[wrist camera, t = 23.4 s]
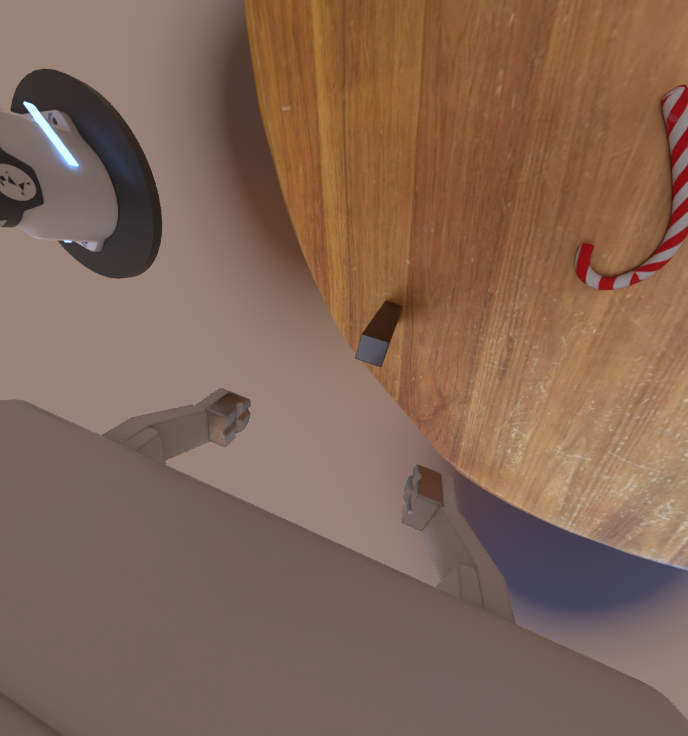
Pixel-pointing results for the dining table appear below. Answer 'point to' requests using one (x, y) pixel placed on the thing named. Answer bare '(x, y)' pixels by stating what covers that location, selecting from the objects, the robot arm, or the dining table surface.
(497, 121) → the dining table surface
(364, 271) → the dining table surface
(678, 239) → the candy cane
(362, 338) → the stick
